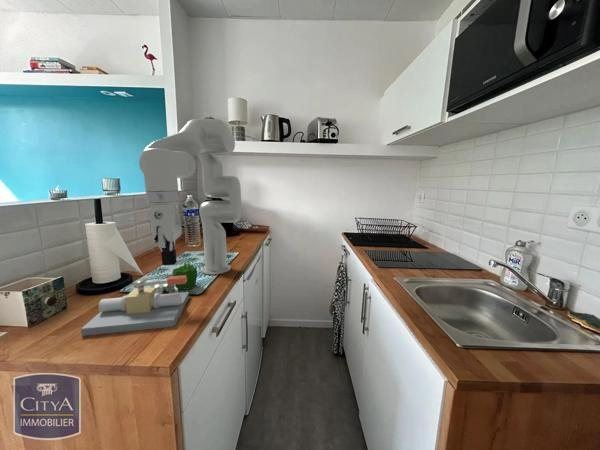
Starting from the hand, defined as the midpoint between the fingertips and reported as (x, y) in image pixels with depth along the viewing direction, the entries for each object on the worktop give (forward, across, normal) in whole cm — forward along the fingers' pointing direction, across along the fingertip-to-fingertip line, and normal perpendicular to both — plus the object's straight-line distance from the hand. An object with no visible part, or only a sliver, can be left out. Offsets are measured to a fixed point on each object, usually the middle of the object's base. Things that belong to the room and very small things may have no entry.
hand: (169, 263), depth 68 cm
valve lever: (+10, +6, +5) cm, 12 cm away
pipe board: (+17, +5, +10) cm, 21 cm away
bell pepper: (+18, +23, +2) cm, 29 cm away
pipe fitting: (+18, +22, +11) cm, 30 cm away
